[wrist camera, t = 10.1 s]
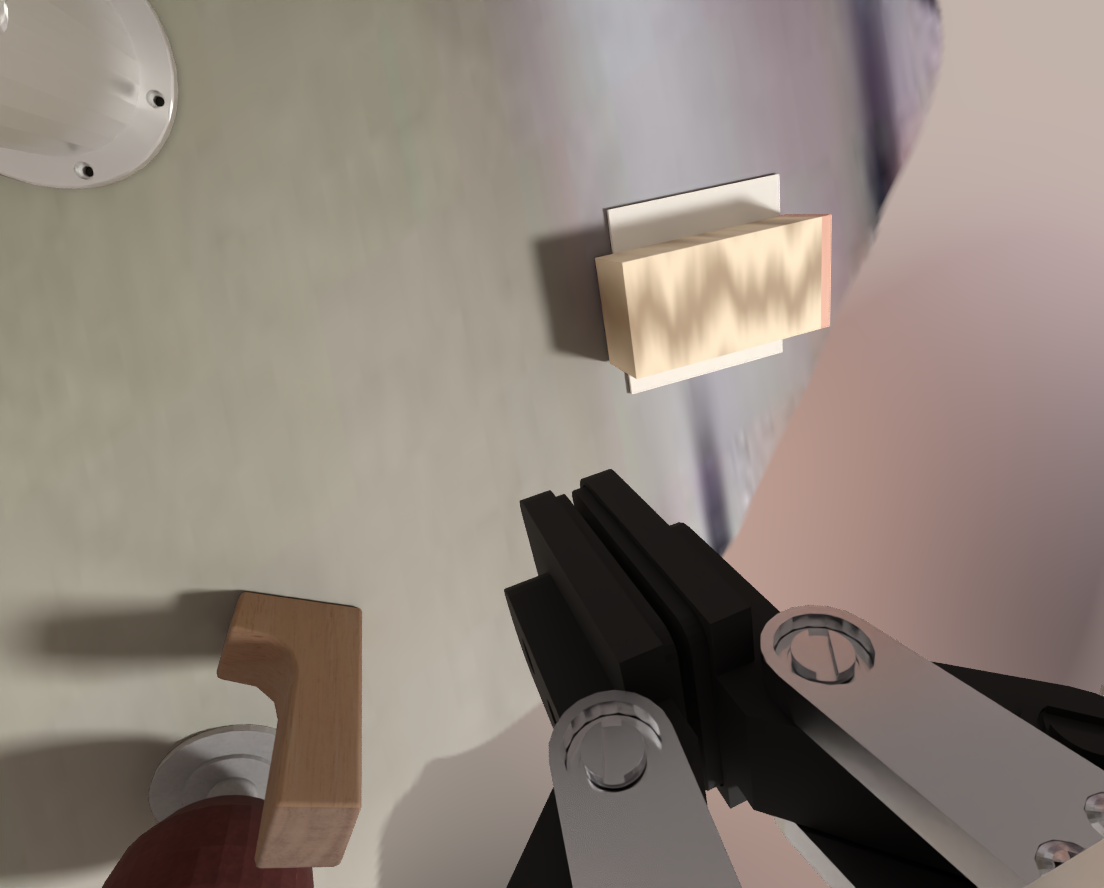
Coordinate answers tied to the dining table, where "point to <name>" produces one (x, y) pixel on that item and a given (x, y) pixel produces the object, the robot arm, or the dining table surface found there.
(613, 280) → the ash block
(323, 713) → the wooden block
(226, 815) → the mate gourd
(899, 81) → the dining table surface
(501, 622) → the dining table surface
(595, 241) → the dining table surface
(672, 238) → the pad
